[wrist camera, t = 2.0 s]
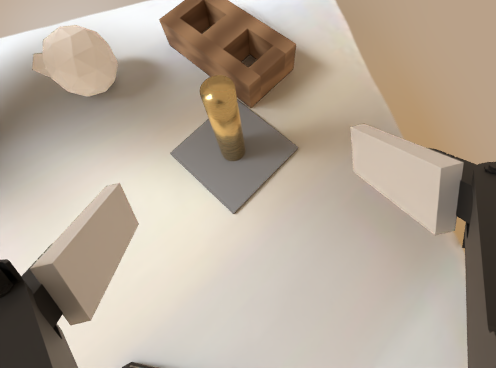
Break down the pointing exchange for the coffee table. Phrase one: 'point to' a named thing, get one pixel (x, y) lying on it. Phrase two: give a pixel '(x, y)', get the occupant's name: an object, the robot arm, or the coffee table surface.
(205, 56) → the walnut hole block
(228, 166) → the slate rubber mat
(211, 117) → the brass peg
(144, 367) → the vhs tape
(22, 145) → the coffee table surface
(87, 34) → the beige faceted ovoid
